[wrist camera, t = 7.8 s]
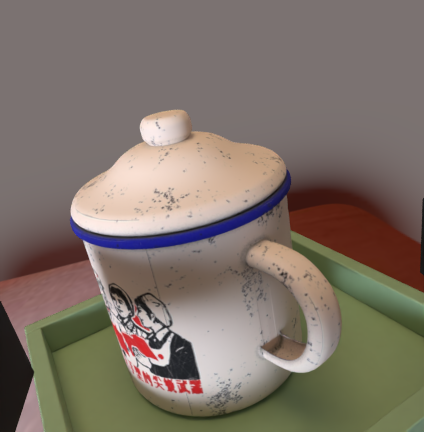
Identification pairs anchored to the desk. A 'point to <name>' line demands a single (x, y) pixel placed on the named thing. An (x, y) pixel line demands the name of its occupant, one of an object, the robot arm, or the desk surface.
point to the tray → (272, 404)
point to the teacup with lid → (203, 269)
